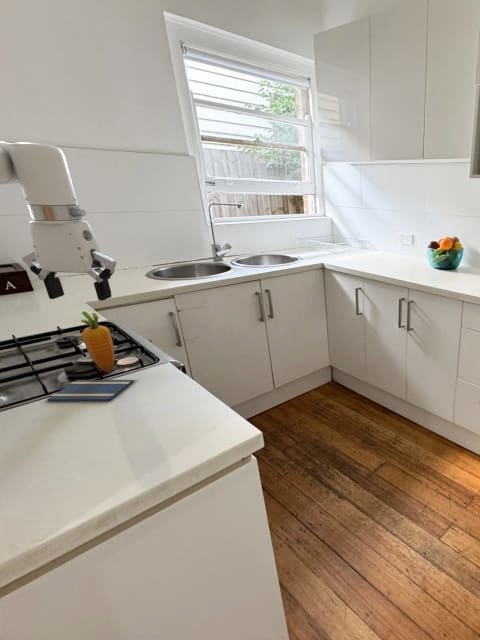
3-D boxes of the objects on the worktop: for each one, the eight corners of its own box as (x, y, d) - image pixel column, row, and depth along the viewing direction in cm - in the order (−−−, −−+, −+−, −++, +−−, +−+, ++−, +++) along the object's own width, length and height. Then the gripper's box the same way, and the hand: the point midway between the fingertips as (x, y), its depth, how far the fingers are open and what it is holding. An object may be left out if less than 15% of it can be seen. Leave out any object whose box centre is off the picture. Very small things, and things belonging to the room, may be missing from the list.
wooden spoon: (72, 367, 90) (70, 363, 90) (85, 359, 94) (84, 355, 94) (132, 367, 91) (131, 363, 91) (143, 359, 95) (142, 355, 95)
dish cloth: (47, 401, 77) (46, 398, 77) (77, 381, 84) (76, 379, 84) (109, 401, 78) (108, 398, 78) (133, 381, 85) (133, 379, 85)
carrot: (124, 373, 89) (105, 312, 83) (97, 380, 85) (76, 317, 79) (119, 365, 92) (100, 306, 86) (93, 372, 88) (72, 311, 82)
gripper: (115, 214, 78) (134, 294, 85) (25, 210, 77) (52, 291, 84) (88, 218, 72) (112, 304, 78) (-11, 213, 70) (22, 302, 77)
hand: (81, 298), depth 81 cm, fingers open, 9 cm apart
